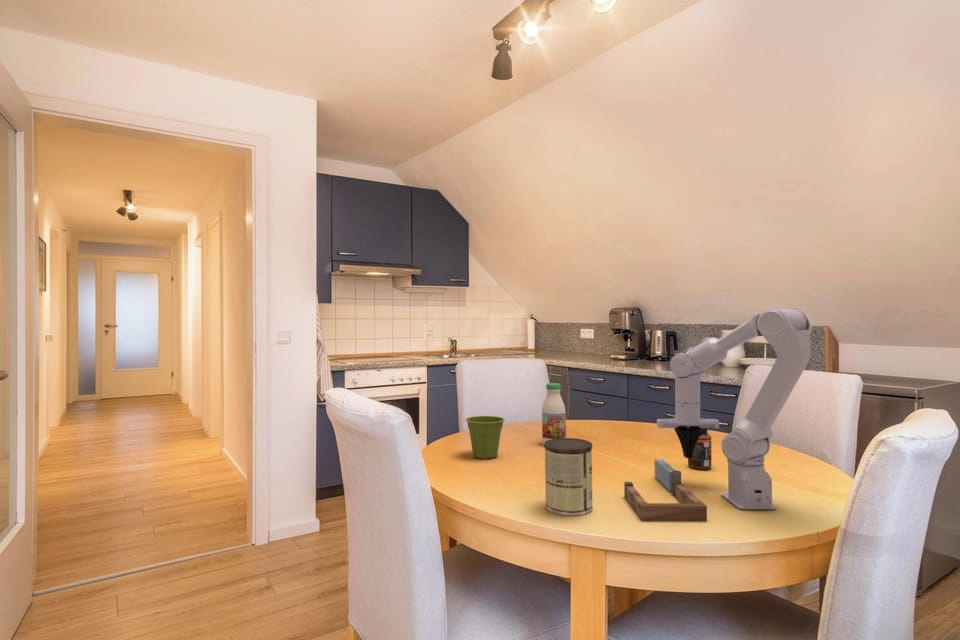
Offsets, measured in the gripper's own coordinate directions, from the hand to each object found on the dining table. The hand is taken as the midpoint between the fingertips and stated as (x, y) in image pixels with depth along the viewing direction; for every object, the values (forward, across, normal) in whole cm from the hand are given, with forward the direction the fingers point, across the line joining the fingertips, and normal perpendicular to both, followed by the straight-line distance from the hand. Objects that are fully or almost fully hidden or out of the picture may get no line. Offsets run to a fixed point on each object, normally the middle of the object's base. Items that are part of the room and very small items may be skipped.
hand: (687, 457), depth 131 cm
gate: (+6, +5, 0) cm, 8 cm away
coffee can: (+7, +31, +16) cm, 36 cm away
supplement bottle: (+7, -9, -15) cm, 19 cm away
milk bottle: (+7, +28, -41) cm, 50 cm away
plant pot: (+7, +50, -27) cm, 58 cm away
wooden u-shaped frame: (+7, +11, +15) cm, 20 cm away
